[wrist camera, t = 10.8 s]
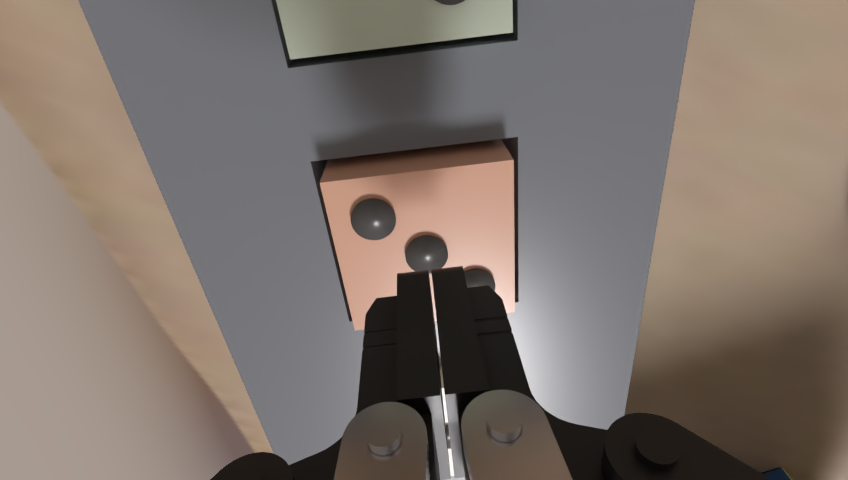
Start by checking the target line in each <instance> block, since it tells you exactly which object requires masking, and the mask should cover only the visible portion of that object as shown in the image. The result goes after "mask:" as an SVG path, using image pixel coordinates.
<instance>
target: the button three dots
mask: <svg viewBox="0 0 848 480" xmlns="http://www.w3.org/2000/svg"><path fill="white" fill-rule="evenodd" d="M320 187H321V191H322V195H323V199H324V203H325V208H326V212H327V216H328V220H329V224H330V229H331V233H332V237H333V241H334V245H335V250H336V254H337V258H338V262H339V266H340V271H341V275H342V279H343V283H344V287H345V291H346V296H347V300H348V304H349V308H350V312H351V317H352V321H353V325H354V329H355V331H356V330H364V327H365V316H366V313H367V311H368V310H369V308H370V307H371V305H372V304H373V302H374V301H375V299H376V298H381V297H390V296H397V273H406V272H414V271H423V270H429V278H430V287H431V295H432V303H433V312H434V320H435V321H437V318H436V309H435V300H434V291H433V281H432V272H431V269H440V268H449V267H458V266H463V270H464V274H465V279H466V284H467V288H469V287H478V286H487V285H489V286H490V287H491V288H492V289H493V290H494V291H495V292H496V293H497V294H498V295H499V296H500V297H501V298H502V300H503V303H504V306H505V310H506V313H512V312H515V250H514V159H513V158H512V156H511V154H510V153H509V151H508V150H507V148H506V146H505V145H504V143H503V141H502V140H501V139H496V140H487V141H479V142H471V143H462V144H454V145H446V146H437V147H429V148H420V149H412V150H404V151H395V152H387V153H378V154H370V155H362V156H353V157H345V158H337V159H328V161H327V164H326V166H325V169H324V172H323V175H322V178H321V180H320Z"/></svg>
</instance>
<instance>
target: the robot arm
mask: <svg viewBox="0 0 848 480" xmlns="http://www.w3.org/2000/svg"><path fill="white" fill-rule="evenodd" d="M431 272H432V281H433V291H434V300H435V309H436V318H437V328H438V337H439V346H440V356H441V365H442V374H443V383H444V393H445V401H446V410H447V418H448V427H449V435H450V444H451V452H452V461H453V469H454V478H462V477H465V480H771V479H770V478H768V477H766V476H765V475H763V474H761V473H760V472H758V471H756V470H754V469H753V468H751V467H749V466H748V465H746V464H744V463H743V462H741V461H739V460H738V459H736V458H734V457H733V456H731V455H729V454H728V453H726V452H724V451H722V450H721V449H719V448H717V447H716V446H714V445H712V444H711V443H709V442H707V441H706V440H704V439H702V438H701V437H699V436H697V435H696V434H694V433H692V432H691V431H689V430H687V429H685V428H684V427H682V426H680V425H679V424H677V423H675V422H673V421H671V420H669V419H667V418H664V417H661V416H658V415H654V414H647V413H634V414H628V415H625V416H622V417H620V418H619V419H617V420H616V421H614V422H613V423H612V424H611V426H610V427H609V428H608V430H605V429H600V428H594V427H589V426H583V425H578V424H574V423H570V422H567V421H564V420H561V419H559V418H557V417H555V416H553V415H552V414H550V413H549V412H547V411H546V410H545V409H544V408H543V407H541V406H540V404H539V403H538V402H537V401H536V400H535V398H534V396H533V395H532V393H531V390H530V388H529V384H528V381H527V378H526V375H525V371H524V368H523V365H522V362H521V358H520V355H519V352H518V349H517V345H516V342H515V339H514V336H513V334H512V329H511V326H510V323H509V319H508V317H507V313H506V310H505V306H504V303H503V300H502V298H501V297H500V296H499V295H498V294H497V293H496V292H495V291H494V290H493V289H492V288H491V287H490V286H489V285H487V286H478V287H469V288H467V284H466V279H465V274H464V270H463V266H458V267H449V268H440V269H431ZM446 479H451V474H450V464H449V454H448V444H447V435H446V425H445V415H444V405H443V396H442V386H441V376H440V366H439V357H438V347H437V337H436V329H435V320H434V312H433V303H432V295H431V287H430V278H429V270H423V271H414V272H406V273H397V296H390V297H381V298H376V299H375V301H374V302H373V304H372V305H371V307H370V308H369V310H368V311H367V313H366V316H365V327H364V338H363V351H362V360H361V371H360V382H359V393H358V404H357V411H356V415H355V417H354V418H353V419H352V420H351V421H350V422H349V424H348V425H347V427H346V429H345V431H344V433H343V436H342V437H341V438H340V439H339V440H338V441H337V442H336V443H334V444H333V445H331V446H330V447H328V448H327V449H325V450H323V451H321V452H319V453H317V454H314V455H312V456H309V457H307V458H305V459H302V460H300V461H297V462H295V463H293V464H290V465H288V463H287V462H286V461H285V460H284V459H283V458H281V457H280V456H278V455H276V454H272V453H267V452H259V453H252V454H248V455H245V456H243V457H240V458H238V459H236V460H234V461H233V462H231V463H230V464H228V465H226V466H225V467H224V468H223V469H222V470H220V471H219V472H218V473H217V474H216V475H215V476H214V477H213V478H212V479H211V480H446Z"/></svg>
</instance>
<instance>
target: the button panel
mask: <svg viewBox="0 0 848 480" xmlns="http://www.w3.org/2000/svg"><path fill="white" fill-rule="evenodd" d="M78 1H79V3H80V5H81V8H82V10H83V12H84V15H85V17H86V19H87V21H88V24H89V26H90V28H91V31H92V33H93V35H94V38H95V40H96V42H97V45H98V47H99V49H100V52H101V54H102V56H103V59H104V61H105V63H106V66H107V68H108V70H109V72H110V75H111V77H112V79H113V82H114V84H115V86H116V89H117V91H118V93H119V96H120V98H121V100H122V103H123V105H124V107H125V110H126V112H127V114H128V117H129V119H130V121H131V123H132V126H133V128H134V130H135V133H136V135H137V137H138V140H139V142H140V144H141V147H142V149H143V151H144V154H145V156H146V158H147V161H148V163H149V165H150V168H151V170H152V172H153V174H154V177H155V179H156V181H157V184H158V186H159V188H160V191H161V193H162V195H163V198H164V200H165V202H166V205H167V207H168V209H169V212H170V214H171V216H172V218H173V221H174V223H175V225H176V228H177V230H178V232H179V235H180V237H181V239H182V242H183V244H184V246H185V249H186V251H187V253H188V256H189V258H190V260H191V263H192V265H193V267H194V269H195V272H196V274H197V276H198V279H199V281H200V283H201V286H202V288H203V290H204V293H205V295H206V297H207V300H208V302H209V304H210V307H211V309H212V311H213V314H214V316H215V318H216V320H217V323H218V325H219V327H220V330H221V332H222V334H223V337H224V339H225V341H226V344H227V346H228V348H229V351H230V353H231V355H232V358H233V360H234V362H235V364H236V367H237V369H238V371H239V374H240V376H241V378H242V381H243V383H244V385H245V388H246V390H247V392H248V395H249V397H250V399H251V402H252V404H253V406H254V409H255V411H256V413H257V415H258V418H259V420H260V422H261V425H262V427H263V429H264V432H265V434H266V436H267V439H268V441H269V443H270V446H271V448H272V450H273V453H274V454H276V455H278V456H280V457H281V458H283V459H284V460H285V461H286V462H287V463H288V465H290V464H293V463H295V462H297V461H300V460H302V459H305V458H307V457H309V456H312V455H314V454H317V453H319V452H321V451H323V450H325V449H327V448H328V447H330V446H331V445H333V444H334V443H336V442H337V441H338V440H339V439H340V438H341V437H342V436H343V433H344V431H345V429H346V427H347V425H348V424H349V422H350V421H351V420H352V419H353V418H354V417H355V415H356V411H357V404H358V393H359V382H360V371H361V360H362V351H363V338H364V330H356V331H355V329H354V325H353V321H352V317H351V312H350V308H349V304H348V300H347V296H346V291H345V287H344V283H343V279H342V275H341V271H340V266H339V262H338V258H337V254H336V250H335V245H334V241H333V237H332V233H331V229H330V224H329V220H328V216H327V212H326V208H325V203H324V199H323V195H322V191H321V187H320V180H321V178H322V175H323V172H324V169H325V166H326V164H327V161H328V159H337V158H345V157H353V156H362V155H370V154H378V153H387V152H395V151H404V150H412V149H420V148H429V147H437V146H446V145H454V144H462V143H471V142H479V141H487V140H496V139H501V140H502V141H503V143H504V145H505V146H506V148H507V150H508V151H509V153H510V154H511V156H512V158H513V159H514V250H515V312H512V313H507V317H508V319H509V323H510V326H511V329H512V334H513V336H514V339H515V342H516V345H517V349H518V352H519V355H520V358H521V362H522V365H523V368H524V371H525V375H526V378H527V381H528V384H529V388H530V390H531V393H532V395H533V396H534V398H535V400H536V401H537V402H538V403H539V404H540V406H541V407H543V408H544V409H545V410H546V411H547V412H549V413H550V414H552V415H553V416H555V417H557V418H559V419H561V420H564V421H567V422H570V423H574V424H578V425H583V426H589V427H594V428H600V429H605V430H608V428H609V427H610V426H611V424H612V423H613V422H614V421H616V420H617V419H619V418H620V417H622V416H624V414H625V408H626V403H627V397H628V391H629V385H630V379H631V373H632V367H633V361H634V356H635V350H636V344H637V338H638V332H639V326H640V320H641V314H642V309H643V303H644V297H645V291H646V285H647V279H648V273H649V267H650V262H651V256H652V250H653V244H654V238H655V232H656V226H657V220H658V215H659V209H660V203H661V197H662V191H663V185H664V179H665V174H666V168H667V162H668V156H669V150H670V144H671V138H672V132H673V127H674V121H675V115H676V109H677V103H678V97H679V91H680V85H681V80H682V74H683V68H684V62H685V56H686V50H687V44H688V38H689V33H690V27H691V21H692V15H693V9H694V3H695V0H513V33H505V34H497V35H488V36H480V37H472V38H464V39H455V40H447V41H439V42H431V43H423V44H414V45H406V46H398V47H390V48H381V49H373V50H365V51H357V52H348V53H340V54H332V55H324V56H315V57H307V58H299V59H291V60H290V57H289V53H288V48H287V44H286V40H285V36H284V32H283V28H282V23H281V19H280V15H279V11H278V7H277V2H276V0H78ZM435 329H436V337H437V347H438V357H439V365H440V364H441V356H440V346H439V337H438V328H437V321H435ZM446 480H465V477H462V478H454V476H451V479H446Z"/></svg>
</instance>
